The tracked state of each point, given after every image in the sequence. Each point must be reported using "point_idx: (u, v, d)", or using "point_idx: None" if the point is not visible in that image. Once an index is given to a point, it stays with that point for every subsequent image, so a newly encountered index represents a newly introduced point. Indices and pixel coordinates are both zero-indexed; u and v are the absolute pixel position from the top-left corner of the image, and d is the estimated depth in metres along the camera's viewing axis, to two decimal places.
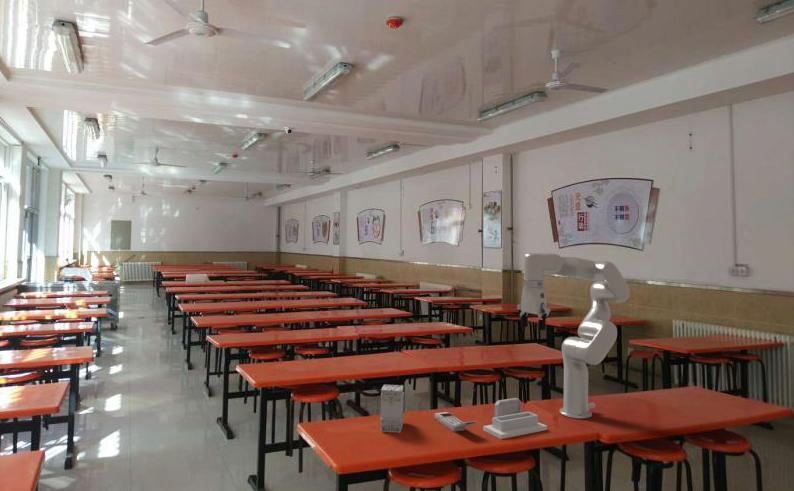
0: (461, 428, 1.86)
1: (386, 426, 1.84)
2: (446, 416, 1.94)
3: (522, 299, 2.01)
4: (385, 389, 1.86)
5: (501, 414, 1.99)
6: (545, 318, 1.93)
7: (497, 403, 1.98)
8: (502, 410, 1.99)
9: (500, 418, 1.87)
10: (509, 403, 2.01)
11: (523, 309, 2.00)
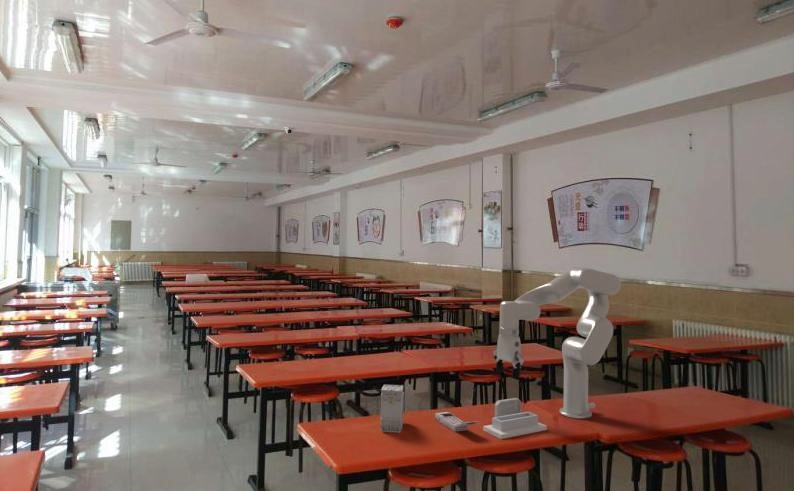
0: (462, 428, 1.86)
1: (386, 426, 1.84)
2: (447, 416, 1.94)
3: (498, 346, 2.03)
4: (385, 389, 1.86)
5: (501, 414, 1.99)
6: (519, 367, 1.95)
7: (497, 403, 1.98)
8: (502, 410, 1.99)
9: (500, 418, 1.87)
10: (509, 403, 2.01)
11: (498, 356, 2.03)
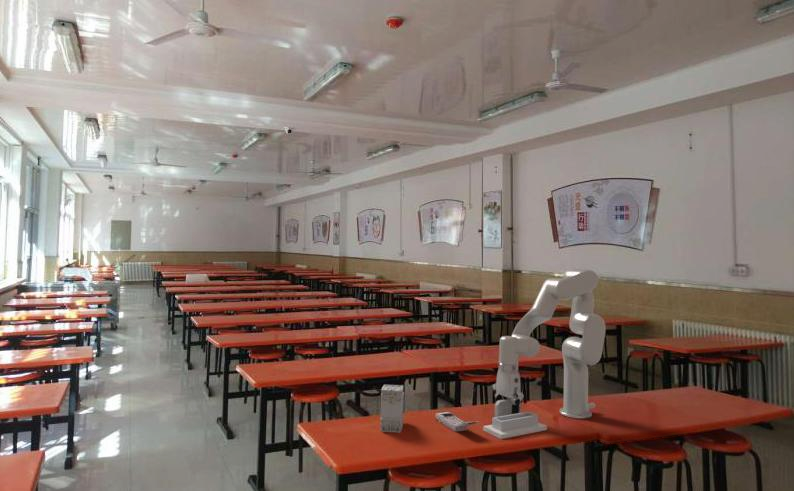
0: (463, 428, 1.86)
1: (386, 426, 1.84)
2: (447, 416, 1.94)
3: (497, 381, 2.03)
4: (385, 389, 1.86)
5: (501, 414, 1.99)
6: (518, 403, 1.95)
7: (497, 403, 1.98)
8: (502, 410, 1.99)
9: (500, 418, 1.87)
10: (509, 403, 2.01)
11: (498, 391, 2.02)
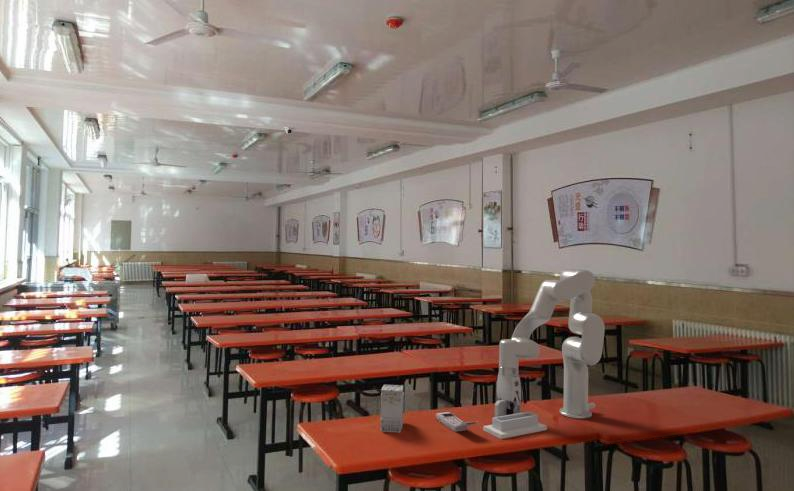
0: (462, 428, 1.86)
1: (386, 426, 1.84)
2: (447, 416, 1.94)
3: (497, 384, 2.03)
4: (385, 389, 1.86)
5: (501, 414, 1.99)
6: (513, 407, 1.98)
7: (497, 403, 1.98)
8: (502, 410, 1.99)
9: (500, 418, 1.87)
10: None
11: (498, 394, 2.03)
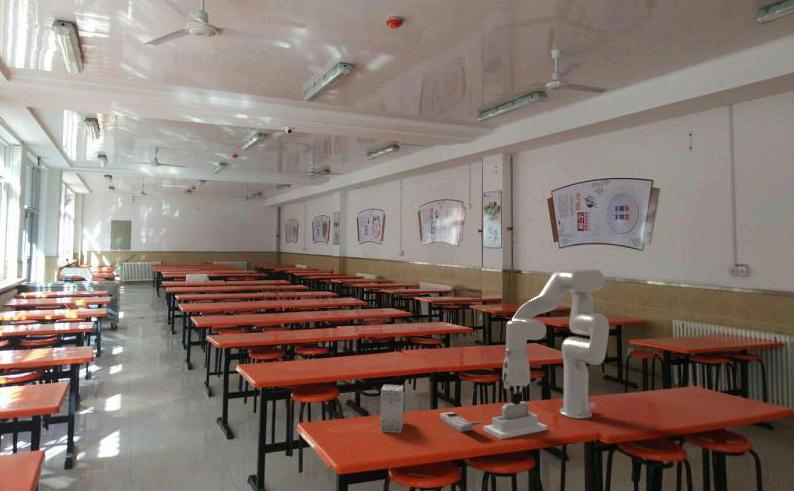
0: (467, 428, 1.86)
1: (386, 426, 1.84)
2: (452, 416, 1.94)
3: None
4: (385, 389, 1.86)
5: (508, 419, 1.87)
6: (511, 391, 1.87)
7: (504, 407, 1.86)
8: (510, 415, 1.87)
9: (500, 418, 1.87)
10: (517, 407, 1.88)
11: None
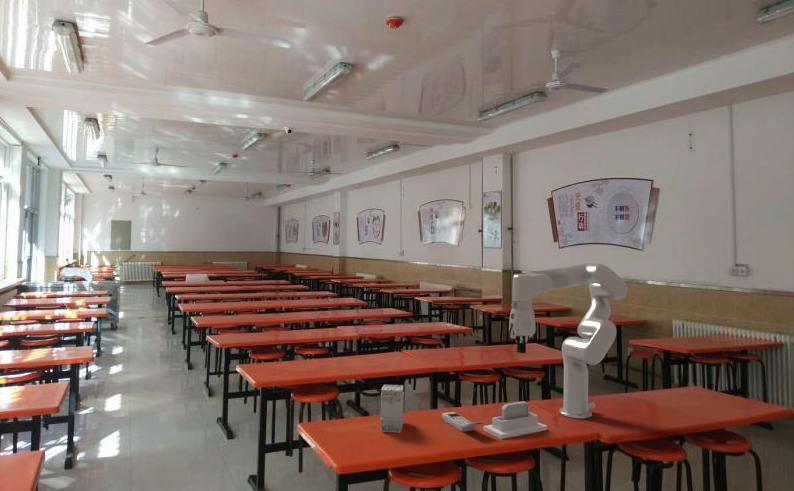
0: (469, 428, 1.86)
1: (386, 426, 1.84)
2: (453, 416, 1.94)
3: None
4: (385, 389, 1.86)
5: (508, 419, 1.87)
6: (517, 341, 1.97)
7: (504, 407, 1.86)
8: (510, 415, 1.87)
9: (500, 418, 1.87)
10: (517, 407, 1.88)
11: None
